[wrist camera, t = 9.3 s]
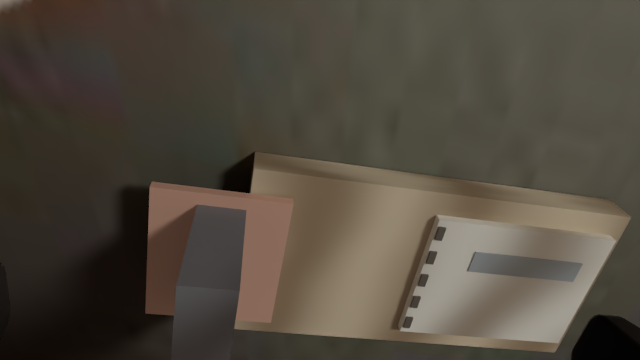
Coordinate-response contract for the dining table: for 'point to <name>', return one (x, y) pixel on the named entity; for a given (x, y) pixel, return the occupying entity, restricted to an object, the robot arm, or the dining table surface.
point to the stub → (213, 263)
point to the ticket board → (431, 256)
